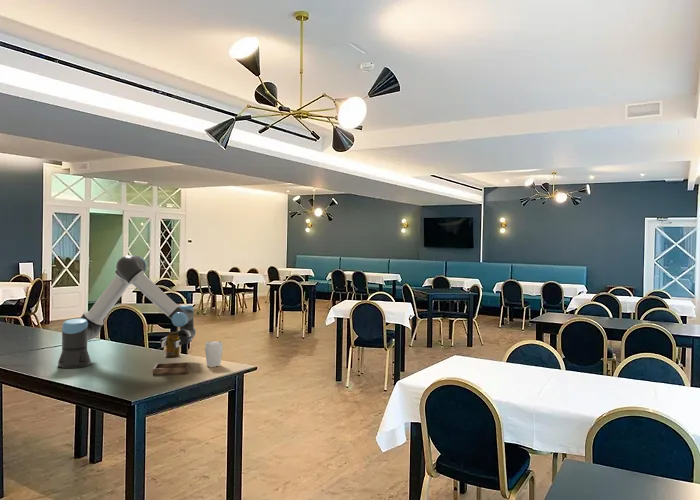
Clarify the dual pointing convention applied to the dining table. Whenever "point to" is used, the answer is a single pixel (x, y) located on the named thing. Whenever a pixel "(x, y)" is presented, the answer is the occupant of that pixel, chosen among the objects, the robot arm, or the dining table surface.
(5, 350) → the dining table surface
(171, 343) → the condiment
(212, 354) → the cup
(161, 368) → the holder tray
